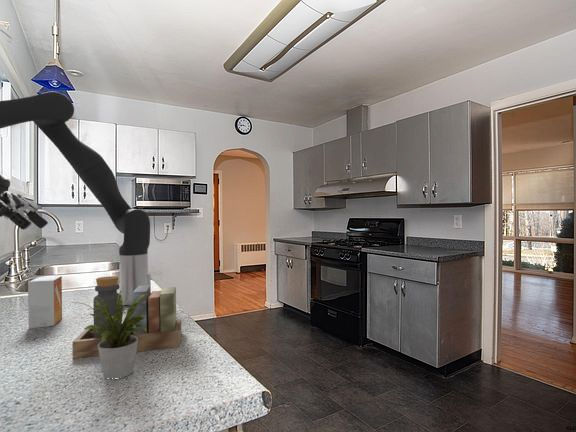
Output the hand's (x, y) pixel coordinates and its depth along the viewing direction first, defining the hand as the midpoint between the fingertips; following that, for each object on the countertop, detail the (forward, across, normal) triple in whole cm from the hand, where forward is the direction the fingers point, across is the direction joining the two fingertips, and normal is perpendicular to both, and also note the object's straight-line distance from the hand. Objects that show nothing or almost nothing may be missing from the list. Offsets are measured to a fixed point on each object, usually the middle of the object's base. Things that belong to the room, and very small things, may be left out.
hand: (36, 226), depth 81 cm
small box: (+16, +20, +25) cm, 35 cm away
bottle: (+31, -6, +8) cm, 33 cm away
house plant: (+35, -22, +6) cm, 42 cm away
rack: (+36, -6, +5) cm, 36 cm away
